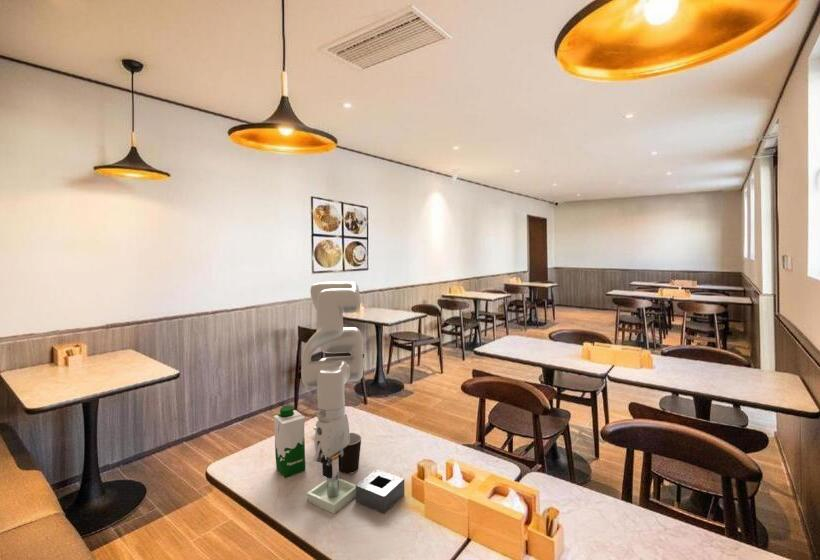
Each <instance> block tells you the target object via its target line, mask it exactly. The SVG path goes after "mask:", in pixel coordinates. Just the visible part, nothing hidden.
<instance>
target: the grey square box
mask: <svg viewBox="0 0 820 560" xmlns="http://www.w3.org/2000/svg"><path fill="white" fill-rule="evenodd" d="M355 485H356V497H355V503H357V504H359V505H362V506H364V507H366V508H369V509H370V510H374V511H375V512H378V513H380V514H384V515H386V514H387V513H388V512H389V511H390V510H391V509H392V508H393V507H395V505H396V504H397V503H398V502H399V501H400V500H401V499H402V498H403V497H404V496H405V478H404V477H401V476H398V475H395V474H392V473H390V472H387V471H383V470H381V469H378V468H375V470H373V471H372V472H371V473H369V474H368V475H367V476H366V477H365V478H363V479H362V480H361V481H359V482H358V483H357V484H355Z"/></svg>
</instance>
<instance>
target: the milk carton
mask: <svg viewBox="0 0 820 560" xmlns="http://www.w3.org/2000/svg"><path fill="white" fill-rule="evenodd" d="M279 412H280V413H279V414H276V415H273V422H274V423H273V424H274V445H275V446H274V450H275V452H274V455H275V466H276V470H277V471H278V472H279V473H280V474H281V476H283V478H284V479H287V478H289V477H292V476H295V475H297V474H300V473H302V472H305V471H306V448H305V447H306V444H305V441H306V440H305V424H306V423H305V421H306V417H305V416H304V415H303V414H302V413H300V412H299V411H297V410H296V409H294V408H293V406H290V405H287V406H282V407H281V408H280V409H279Z"/></svg>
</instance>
